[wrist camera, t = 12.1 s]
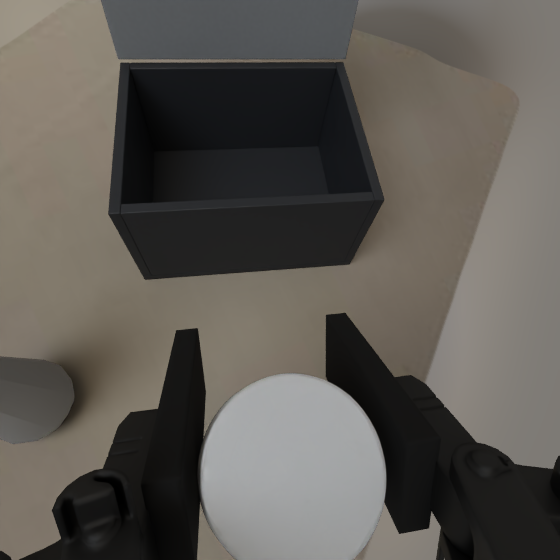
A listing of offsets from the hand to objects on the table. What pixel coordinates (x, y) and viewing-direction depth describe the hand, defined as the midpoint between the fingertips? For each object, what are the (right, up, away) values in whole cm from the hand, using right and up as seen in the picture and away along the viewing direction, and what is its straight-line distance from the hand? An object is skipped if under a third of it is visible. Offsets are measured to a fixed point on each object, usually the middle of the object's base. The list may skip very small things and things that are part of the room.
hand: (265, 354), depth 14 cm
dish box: (-3, +11, +25) cm, 27 cm away
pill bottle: (0, -5, +2) cm, 5 cm away
